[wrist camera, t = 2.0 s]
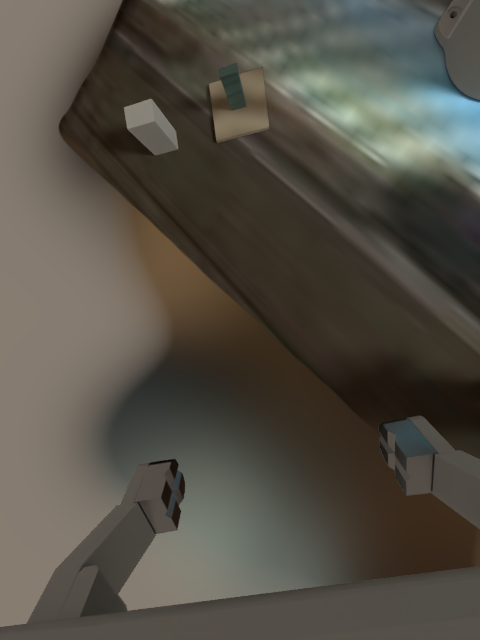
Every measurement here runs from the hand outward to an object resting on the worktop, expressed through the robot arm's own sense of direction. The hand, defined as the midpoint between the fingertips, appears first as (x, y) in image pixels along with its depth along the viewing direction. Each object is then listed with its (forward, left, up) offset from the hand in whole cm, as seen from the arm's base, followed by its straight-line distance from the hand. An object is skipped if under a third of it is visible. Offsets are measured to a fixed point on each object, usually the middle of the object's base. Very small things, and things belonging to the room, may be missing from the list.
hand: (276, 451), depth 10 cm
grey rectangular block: (-21, -33, -36) cm, 54 cm away
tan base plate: (-30, -22, -36) cm, 52 cm away
